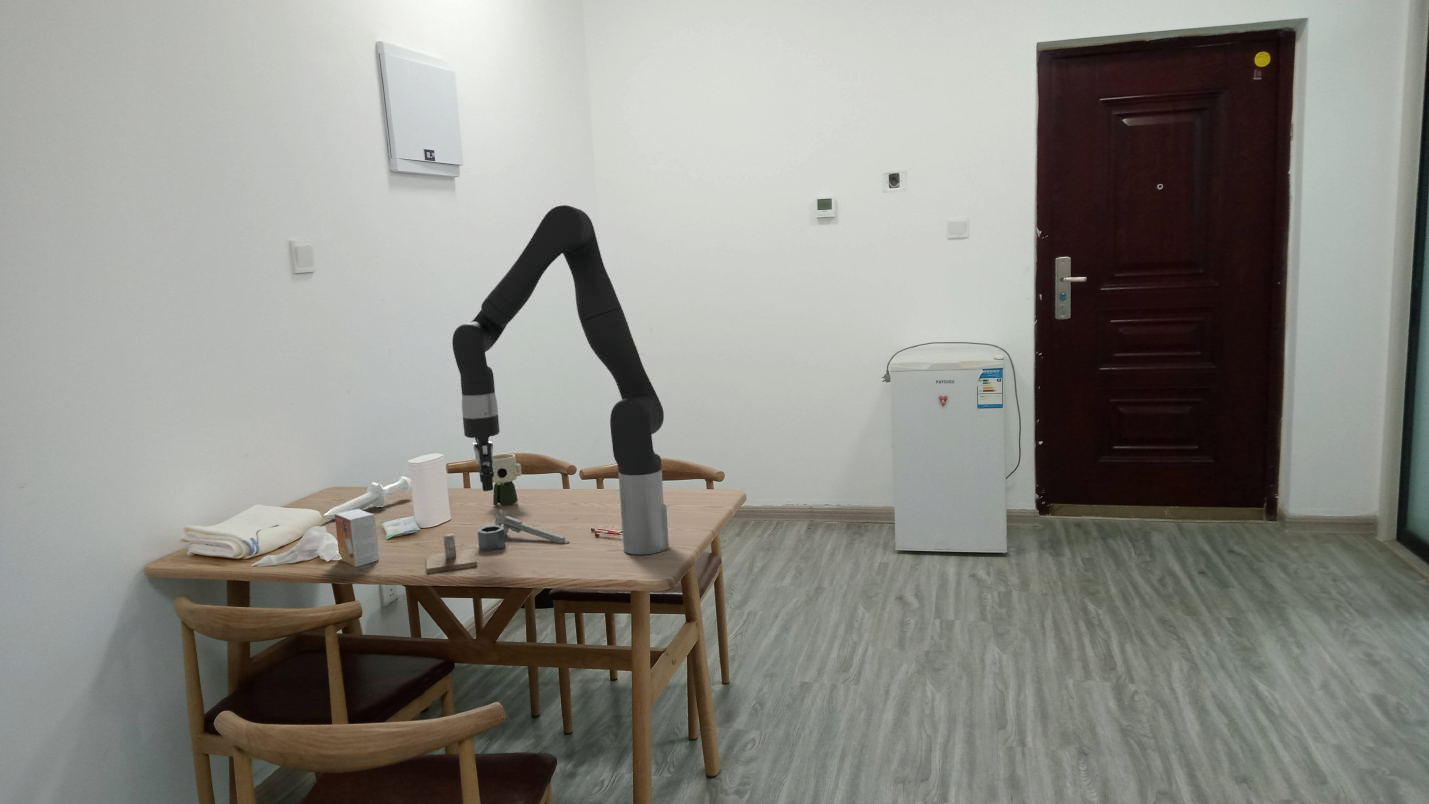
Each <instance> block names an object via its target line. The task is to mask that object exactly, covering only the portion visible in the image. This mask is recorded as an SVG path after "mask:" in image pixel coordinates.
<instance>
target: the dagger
mask: <svg viewBox="0 0 1429 804" xmlns="http://www.w3.org/2000/svg"><path fill="white" fill-rule="evenodd" d="M411 481H412V479H411V478H409V477H406V476H404V475H403V476H400V477H399V479H398V480H397V481H396V482H395V483H393V484H392V483H391V484H387V485H386V486H385V487H384V486H383V485H382V484H381V483H377V482H374V481H373V482H371V483H370V484H369V486H368V488H367V489H366V493H364V494H362V495H360V496H358V497H356V498H353V499H351V500H349V501H347V502H345V503H341V504H339V505H336V506H334V507H331V509H329V511H328V512H326V513H324V514H322V516H323V517H325V518H327V519H329V520H335V514H337V513H342V512H346V511H351V510H355V509H361V510H362V509H363V510H364V509H366V508H368V507H369V506H370V505H372V506H373V505H374V506H373V507H375V506H383V505H384V506H385V504H386V503H387V500H388V497H390V496H392V495H394V494H396V493H397V492H401V493H404V494H407V493H409V492H410V491H411V489H412V488H411ZM384 506H383V507H384Z"/></svg>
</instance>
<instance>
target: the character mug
mask: <svg viewBox="0 0 1429 804" xmlns="http://www.w3.org/2000/svg"><path fill="white" fill-rule="evenodd" d="M487 466H488V465H487ZM492 468H493V472H492V480H493V483H495V484H493V499H492V501H493V506H495V507H498V506H499V505H500V507H507V506H512V505H515V504H516V503H517V502H518V494H517V491H516V486H515V484H514V482H513V481H516V480H517V478H518V477H520V476H522V473H523V472H522V465H521V463H517V459H516V454H514V453H501V454H500V453H499V454H493V464H492ZM498 504H499V505H498Z"/></svg>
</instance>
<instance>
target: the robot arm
mask: <svg viewBox="0 0 1429 804" xmlns="http://www.w3.org/2000/svg"><path fill="white" fill-rule="evenodd" d="M561 255H563V257H564V259H565V261H566V263H567V265H568V267H569V269H570V273H571V276H572V279H573V284H574V292H575V303H576V311H577V315H578V319H579V323H580V324H581V328H582V330H583V333H584V335H585V337H586V340H587V342H588V345H589V346H590V348H591V350H592V351H593V352H594V354H595V355H596V357H597V358H598V359H599V361H600V362H601V363H602V364H603V365H604V366H605V367H606V368H607V369H606V370H608V371H609V372H610V374H611V376H612V377H613V379H614V380H615V384H616V386H617V389H618V391H619V394H620V397H621V399H620V400H619V401H617V402H616V403H615V404H614V406H613V407H612V409H611V411H610V418H609V421H610V422H609V423H610V434H611V435H610V437H611V445H612V452H613V457H614V461H615V462H616V464H617V469H618V485H619V499H620V500H619V501H620V513H621V514H620V516H621V531H622V544H623V545H622V546H623V547H622V548H623V552H625V553H627V554H630V555H652V554H656V553H659V552H662V551H664V550H670V544H669V541H670V539H669V528H668V527H669V526H668V525H669V523H668V509H667V508H668V507H667V505H666V504H665V501H664V486H663V485H664V482H663V470H662V469H663V468H662V459H661V456H660V455H659V454H657V453H656V452H655V450H654V445H653V436H652V435H654V434H656V433H657V432H658V431H659V430H660V429H661V428H662V426H663V424H664V419H665V413H664V409H663V405H662V403H661V401H660V398H659V396H658V394H657V393H656V390H655V388H654V386H653V385H652V382H651V380H650V378H649V376H648V374H647V372H646V369H645V368H644V365H643V363H642V359H641V357H640V354H639V351H638V348H637V346H636V343H635V341H634V338H633V336H632V333H631V330H630V326H629V323H628V321H627V318H626V315H625V313H624V310H623V308H622V305H621V303H620V301H619V298H618V295H617V292H616V291H615V288H614V286H613V283H612V281H611V278H610V276H609V274H608V272H607V269H606V267H605V265H604V262H603V258H602V254H601V250H600V246H599V244H598V239H597V235H596V231H595V227H594V225H593V222H592V219H591V218H590V216H589V215H588V214H587V213H586V212H585V211H583V210H582V209H579V208H576V207H574V206H572V205H567V204H559V205H556V206H554V207H552V208H550V209H549V210H548V211H547V212H546V214H545V215H544V216H543V218H542V219H541V221H540V222H539V224H538V226H537V227H536V230H535V232H534V233H533V235H532V237H531V238H530V240H529V241H528V243H527V244H526V246H525V248H524V249H523V251H522V252H521V254H519V257H518V258H517V260H516V261H515V262H514V263H513V265H512V266H511V267H510V268H509V270H508V271H507V272H506V274H505V275H504V276H503V277H502V278H501V279H500V280H499V282H498V283H497V285H495V286H494V288H493V289H492V290H491V291H490V293H488V295H487V296H486V297H485V299H484V300H483V302H482V303H481V307H480V311H479V312H478V313H477V314H476V316H475V317H474V318H473V319H472V320H471V321H470V322H467V323H462V324H460V325H459V326H458V327H456V329H455V330H454V332H453V334H452V350H453V351H452V352H453V355H454V359H455V362H456V366H457V370H458V372H459V376H460V387H461V411H462V414H461V415H462V425H463V435H464V437H466V438H469V439H474V440H475V443H473V451H474V455H475V460H476V464H477V466H478V468H479V472H478V473H479V481H480V483H481V486H482V487H481V488H482V490H483V492H489V491H490V492H491V491H494V484H493V483H494V482H493V480H492V472H493V468H492V464H493V455H494V454H493V452H494V444H493V442H492V441H489V439H490V437H494V436H497V435H499V434H500V421H499V408H498V407H499V406H498V400H497V395H496V389H495V377H494V372H493V369H492V368H491V367H490V366H488V362H487V357H486V352H488V351H489V350H490V349H491V348H492V347H493V346H494V345H495V344H496V343H497V341H498V340H499V339H500V336H501V335H502V334H503V332H504V330H505V329H506V327H507V326H508V324H509V323H510V322H511V321H512V320H513V319H514V317H516V315H518V313H519V312H520V311H521V310H522V309H523V307H524V306H525V305H526V303H527V302H528V301H529V299H530V298H531V296H532V295H533V293H534V291H535V290H536V287H537V285H538V284H539V282H540V280H541V278H542V276H543V274H544V273H545V272H546V270H548V267H550V266H551V265H552V263H553V262H554V261H555V260H557V258H558V257H559V256H561ZM487 465H488V466H487Z"/></svg>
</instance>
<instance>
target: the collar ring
mask: <svg viewBox="0 0 1429 804" xmlns="http://www.w3.org/2000/svg"><path fill="white" fill-rule="evenodd" d="M505 537H506V535H505V536H504V528H503V525H502V526H497V525H495V524H494V525H488V526H483V527H480V528H478V529H477V538H478V539H477V540H478V548H479V550H480V551H486V552H488V551H496V550H500V549H503V548H505V547H506V538H505Z"/></svg>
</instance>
